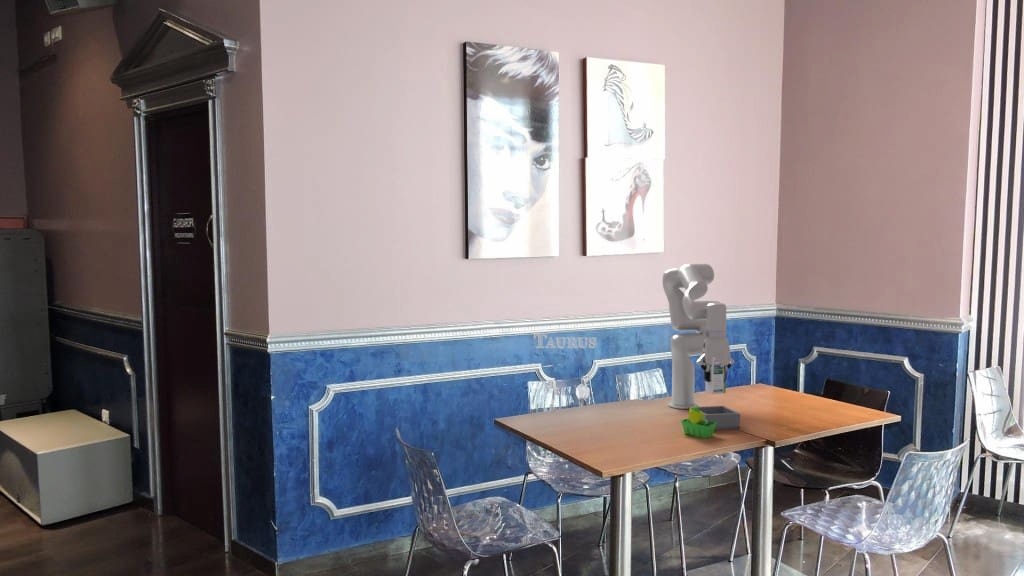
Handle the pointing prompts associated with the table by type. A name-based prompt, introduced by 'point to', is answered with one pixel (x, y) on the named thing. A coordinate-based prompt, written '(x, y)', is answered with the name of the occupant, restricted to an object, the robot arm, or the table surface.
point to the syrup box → (716, 378)
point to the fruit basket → (698, 424)
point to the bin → (721, 417)
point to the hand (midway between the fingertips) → (715, 380)
